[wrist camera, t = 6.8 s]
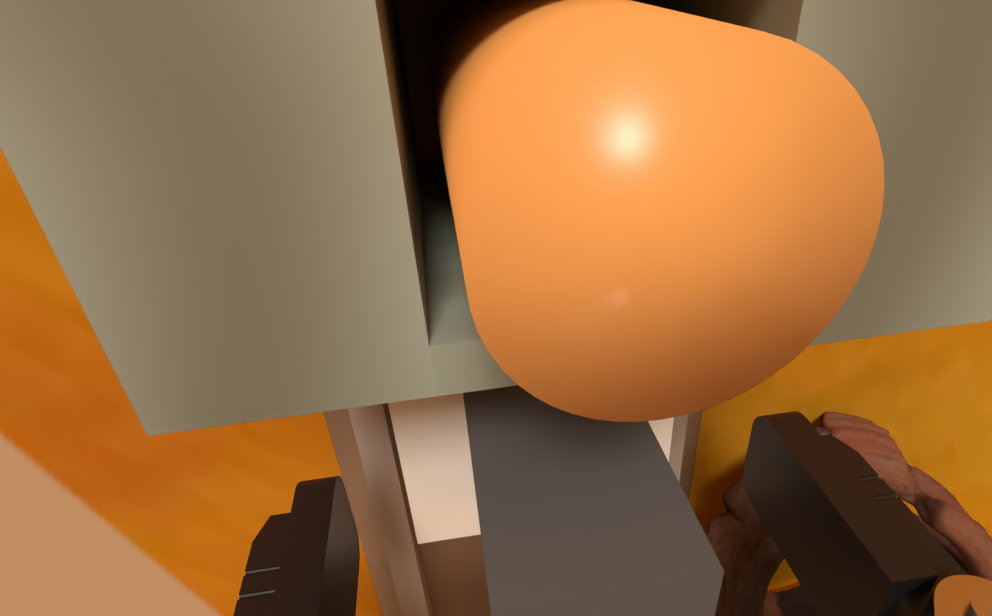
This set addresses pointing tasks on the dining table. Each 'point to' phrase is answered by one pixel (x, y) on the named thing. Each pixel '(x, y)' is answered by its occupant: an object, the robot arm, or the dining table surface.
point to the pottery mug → (756, 557)
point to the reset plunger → (648, 199)
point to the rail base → (396, 213)
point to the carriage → (557, 505)
